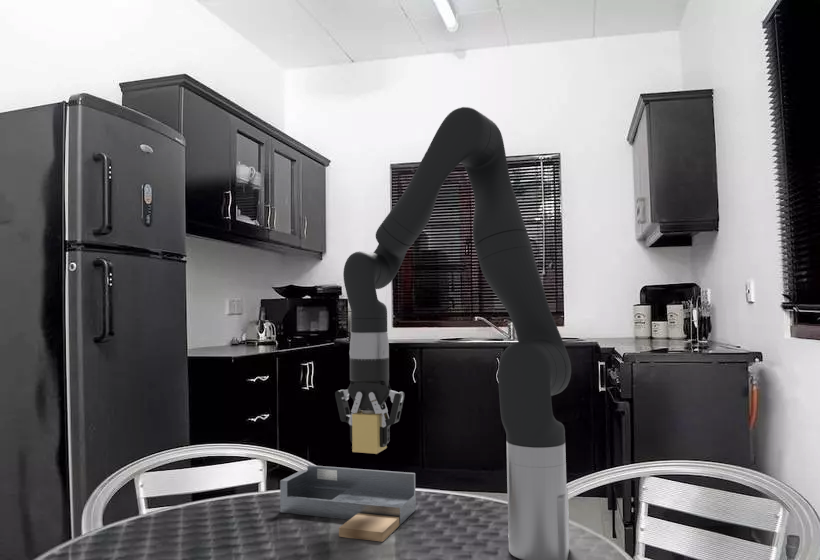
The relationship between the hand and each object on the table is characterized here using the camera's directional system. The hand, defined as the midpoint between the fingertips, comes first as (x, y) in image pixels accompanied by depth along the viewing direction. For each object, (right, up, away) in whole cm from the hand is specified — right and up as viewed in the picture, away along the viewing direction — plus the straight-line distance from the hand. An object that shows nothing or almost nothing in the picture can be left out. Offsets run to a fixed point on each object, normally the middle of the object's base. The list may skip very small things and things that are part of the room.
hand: (369, 445), depth 116 cm
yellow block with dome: (0, -1, 0) cm, 1 cm away
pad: (+1, -12, -10) cm, 16 cm away
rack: (-4, -13, +1) cm, 14 cm away
